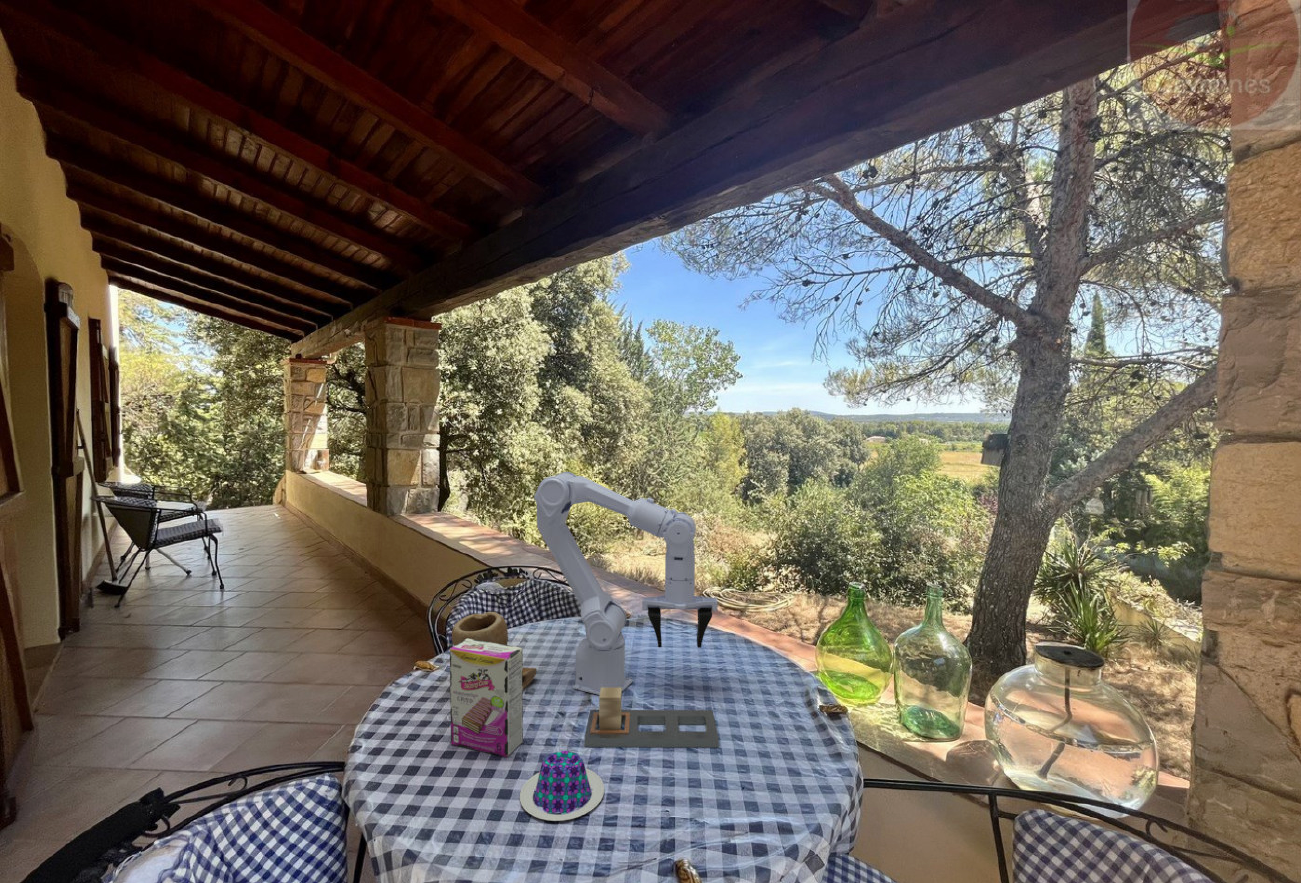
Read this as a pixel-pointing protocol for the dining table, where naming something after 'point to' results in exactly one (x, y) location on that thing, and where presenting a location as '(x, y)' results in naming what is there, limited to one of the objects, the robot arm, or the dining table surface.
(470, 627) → the stone cup
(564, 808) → the pudding
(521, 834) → the dining table surface
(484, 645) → the candy bar box
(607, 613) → the robot arm
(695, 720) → the gray peg hole board
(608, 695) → the birch peg
